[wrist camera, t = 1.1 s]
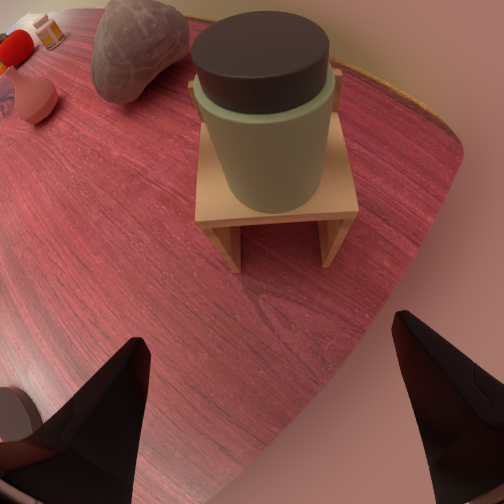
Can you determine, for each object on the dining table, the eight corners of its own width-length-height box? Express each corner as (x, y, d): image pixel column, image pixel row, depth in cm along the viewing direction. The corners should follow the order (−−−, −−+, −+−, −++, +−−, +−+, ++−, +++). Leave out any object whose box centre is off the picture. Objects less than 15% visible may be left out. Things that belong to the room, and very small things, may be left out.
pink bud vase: (69, 105, 36) (30, 57, 25) (34, 138, 35) (-9, 96, 24) (59, 90, 38) (26, 47, 27) (28, 119, 37) (-9, 80, 26)
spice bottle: (339, 188, 14) (373, 58, 7) (251, 230, 14) (212, 111, 6) (291, 123, 16) (287, -2, 8) (213, 156, 16) (164, 36, 8)
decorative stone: (168, 47, 37) (138, -28, 23) (220, 56, 34) (196, -34, 20) (99, 112, 34) (45, 37, 20) (145, 130, 32) (86, 35, 17)
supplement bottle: (62, 35, 48) (46, 11, 39) (67, 38, 46) (50, 12, 37) (46, 49, 47) (29, 25, 38) (50, 52, 46) (32, 26, 36)
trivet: (55, 452, 22) (44, 456, 20) (18, 456, 21) (8, 459, 20) (27, 379, 24) (16, 380, 23) (-5, 393, 24) (-16, 393, 22)
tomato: (34, 57, 47) (15, 31, 37) (6, 79, 47) (-13, 56, 37) (42, 41, 51) (25, 17, 40) (15, 61, 51) (-2, 39, 40)
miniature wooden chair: (329, 267, 25) (374, 180, 11) (234, 273, 25) (173, 194, 12) (320, 193, 27) (340, 68, 13) (233, 199, 27) (188, 80, 14)
